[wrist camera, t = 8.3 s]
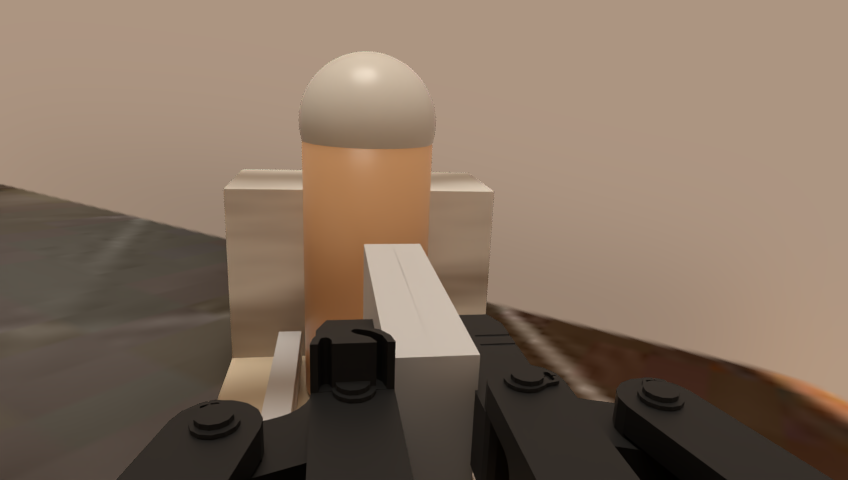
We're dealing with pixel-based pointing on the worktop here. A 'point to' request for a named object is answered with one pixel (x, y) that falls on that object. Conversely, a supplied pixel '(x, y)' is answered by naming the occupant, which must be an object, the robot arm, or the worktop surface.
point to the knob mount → (284, 275)
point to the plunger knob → (360, 176)
